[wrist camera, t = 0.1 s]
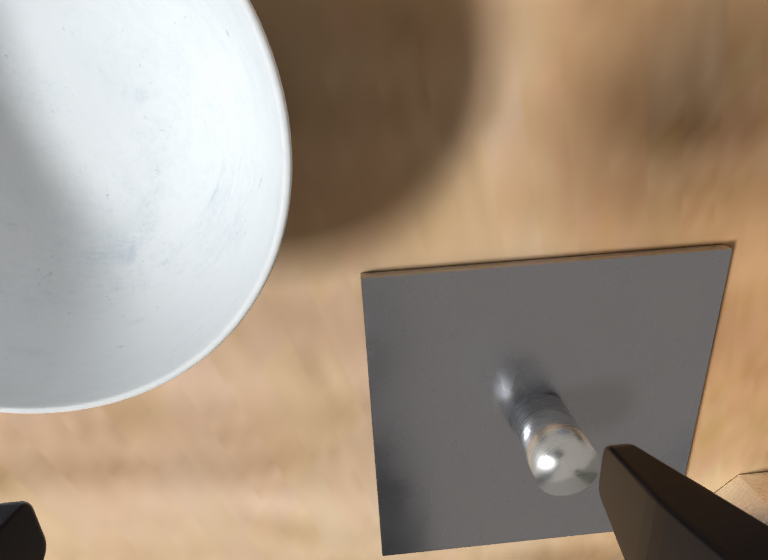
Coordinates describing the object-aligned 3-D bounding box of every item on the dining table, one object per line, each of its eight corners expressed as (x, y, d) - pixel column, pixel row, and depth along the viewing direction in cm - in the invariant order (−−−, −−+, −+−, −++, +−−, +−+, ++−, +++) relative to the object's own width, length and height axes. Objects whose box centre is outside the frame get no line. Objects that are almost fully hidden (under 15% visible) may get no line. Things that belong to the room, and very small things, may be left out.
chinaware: (-76, 289, 22) (-278, 403, 15) (-185, -170, 16) (-600, -348, 9) (299, 312, 23) (281, 424, 16) (320, -97, 18) (307, -197, 11)
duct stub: (668, 516, 30) (715, 582, 26) (381, 546, 29) (388, 619, 25) (723, 244, 24) (796, 280, 20) (360, 273, 23) (364, 316, 19)
